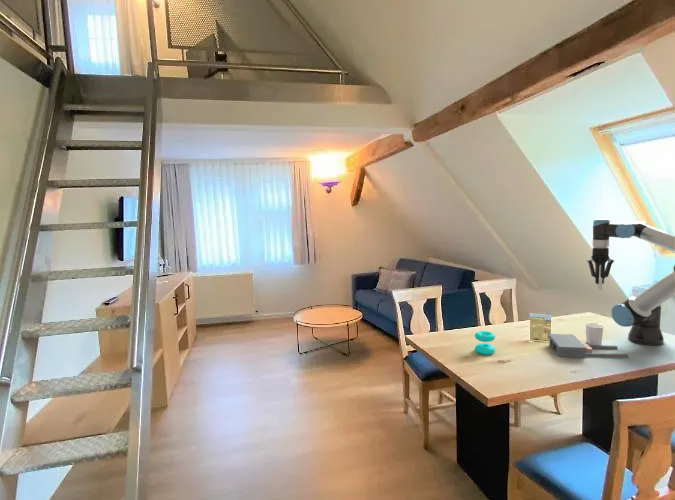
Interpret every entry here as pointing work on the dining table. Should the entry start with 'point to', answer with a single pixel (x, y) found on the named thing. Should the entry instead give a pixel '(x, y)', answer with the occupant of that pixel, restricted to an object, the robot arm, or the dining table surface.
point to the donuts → (483, 347)
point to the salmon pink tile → (588, 348)
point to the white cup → (594, 333)
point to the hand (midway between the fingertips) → (599, 289)
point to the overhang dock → (578, 347)
